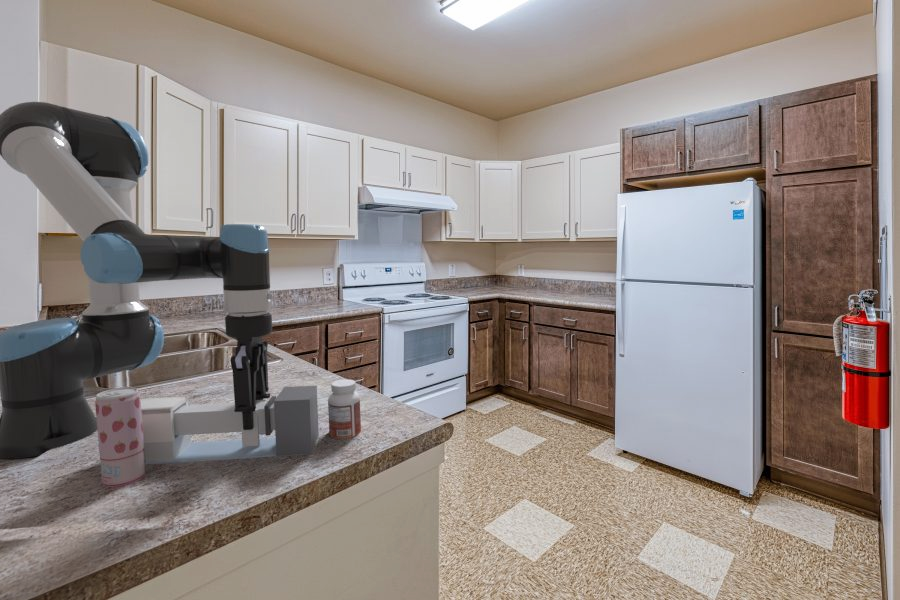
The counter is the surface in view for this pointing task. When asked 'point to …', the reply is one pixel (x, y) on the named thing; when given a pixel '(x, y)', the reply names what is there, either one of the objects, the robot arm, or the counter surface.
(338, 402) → the pill bottle
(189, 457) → the mounting board
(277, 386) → the counter surface
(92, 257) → the robot arm
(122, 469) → the beverage can
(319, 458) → the counter surface
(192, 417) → the tube
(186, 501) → the counter surface
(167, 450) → the sleeve
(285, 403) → the socket
